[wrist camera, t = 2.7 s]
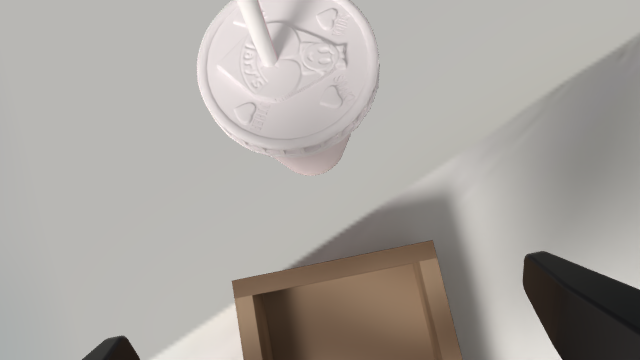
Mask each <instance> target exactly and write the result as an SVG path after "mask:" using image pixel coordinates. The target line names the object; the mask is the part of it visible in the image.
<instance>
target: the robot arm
mask: <svg viewBox="0 0 640 360" xmlns="http://www.w3.org/2000/svg"><path fill="white" fill-rule="evenodd" d="M523 286H524V290H525V292H526V294H527V296H528V298H529V300H530V302H531V304H532V306H533V308H534V310H535V312H536V314H537V315H538V317H539V319H540V321H541V323H542V325H543V327H544V329H545V331H546V333H547V334H548V336H549V338H550V340H551V342H552V344H553V345H554V347H555V349H556V350H557V352H558V354H559V355H560V357H561V358H562V360H640V290H639V289H637V288H634V287H632V286H629V285H627V284H624V283H622V282H620V281H617V280H615V279H612V278H610V277H607V276H605V275H602V274H600V273H597V272H595V271H592V270H590V269H587V268H585V267H582V266H580V265H577V264H575V263H573V262H570V261H568V260H565V259H563V258H560V257H558V256H555V255H553V254H550V253H548V252H544V251H540V252H535V253H530V254H527V255H526V256H525V258H524V269H523ZM82 360H140V358H139V356H138V355H137V353H136V351H135V350H134V348H133V347H132V345H131V344H130V342H129V340H128V339H127V338H126V337H125V336H117V337H113V338H108V339H106V340H104V341H103V342H102V343H101V344H99V345H98V346H97V347H96V348H95V349H94V350H93V351H91V352H90V353H89V354H88V355H87V356H86V357H84V358H83V359H82Z"/></svg>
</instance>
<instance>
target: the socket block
mask: <svg viewBox="0 0 640 360" xmlns="http://www.w3.org/2000/svg"><path fill="white" fill-rule="evenodd" d="M232 284H233V290H234V298H235V305H236V311H237V318H238V325H239V331H240V338H241V345H242V351H243V358H244V360H462V356H461V352H460V348H459V344H458V340H457V336H456V332H455V328H454V324H453V320H452V316H451V312H450V308H449V304H448V300H447V296H446V292H445V288H444V284H443V279H442V275H441V271H440V267H439V263H438V259H437V255H436V251H435V247H434V243H433V240H431V241H426V242H421V243H416V244H411V245H406V246H401V247H396V248H392V249H387V250H382V251H377V252H372V253H367V254H362V255H357V256H352V257H347V258H342V259H337V260H332V261H327V262H322V263H317V264H312V265H308V266H303V267H298V268H293V269H288V270H283V271H278V272H273V273H268V274H263V275H258V276H253V277H249V278H243V279H239V280H234V281H232Z"/></svg>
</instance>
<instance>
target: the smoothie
mask: <svg viewBox="0 0 640 360" xmlns="http://www.w3.org/2000/svg"><path fill="white" fill-rule="evenodd" d="M378 60H379V59H378V48H377V43H376V39H375V36H374V33H373V30H372V28H371V26H370V24H369V22H368V21H367V19H366V18H365V16H364V15H363V14H362V12H361V11H360V10H359V9H358V7H357V6H356V5H354V3H352V2H351V1H350V0H232V1H231V2H229V3H228V4H227V5H226V6H225V7H224V8H223V9H222V10H221V11H220V12H219V13H218V14H217V16H216V17H215V18H214V19H213V21H212V22H211V24H210V25H209V27H208V29H207V31H206V33H205V35H204V37H203V39H202V42H201V45H200V49H199V53H198V59H197V78H198V85H199V89H200V93H201V95H202V98H203V100H204V102H205V104H206V106H207V108H208V109H209V111H210V113H211V114H212V116H213V118H214V120H215V121H216V122H217V123H218V124H219V126H220V127H221V128H222V129H223V131H224V132H225V133H226V134H227V135H228V136H229V137H231V138H232V139H233V140H235V141H236V142H238V143H239V144H241V145H242V146H244V147H245V148H247V149H249V150H252V151H255V152H258V153H261V154H264V155H267V156H272V157H274V158H275V159H277V160H278V161H279V162H281V163H282V164H284V165H285V166H287V167H288V168H290V169H291V170H293V171H294V172H296V173H299V174H302V175H319V174H322V173H325V172H326V171H328V170H330V169H331V168H333V167H334V166H335V165H336V164H337V162H338V161H339V160H340V158H341V157H342V154H343V152H344V149H345V147H346V144H347V142H348V140H349V137H350V134H351V132H352V131H354V130H355V129H356V128H357V127H358V125H359V124H360V123H361V121H362V120H363V118H364V117H365V116H366V114H367V113H368V111H369V110H370V108H371V106H372V103H373V100H374V97H375V94H376V92H377V89H378V81H379V66H380V65H379V61H378Z"/></svg>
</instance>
